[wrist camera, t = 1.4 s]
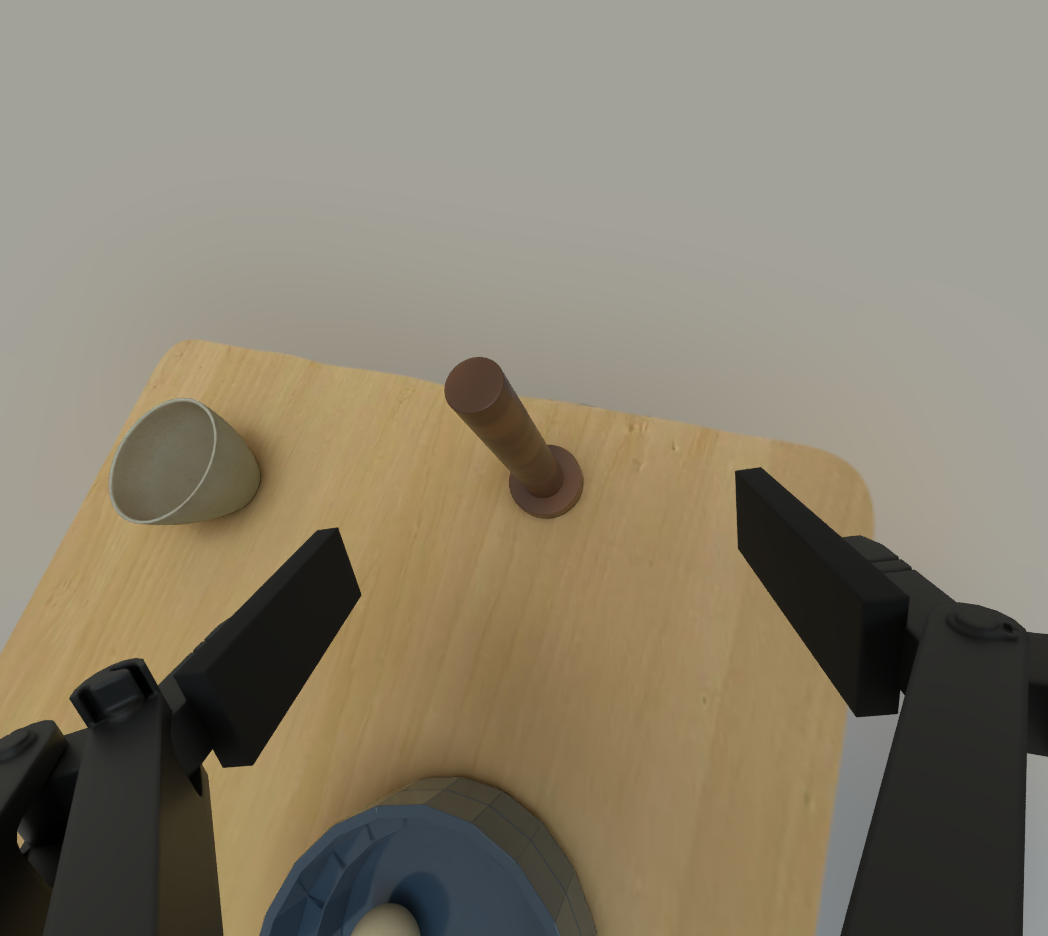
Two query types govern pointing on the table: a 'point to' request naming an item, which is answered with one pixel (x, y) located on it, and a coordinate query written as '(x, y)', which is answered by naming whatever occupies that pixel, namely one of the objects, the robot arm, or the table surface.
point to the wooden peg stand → (514, 439)
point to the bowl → (435, 868)
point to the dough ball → (387, 922)
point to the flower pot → (181, 467)
